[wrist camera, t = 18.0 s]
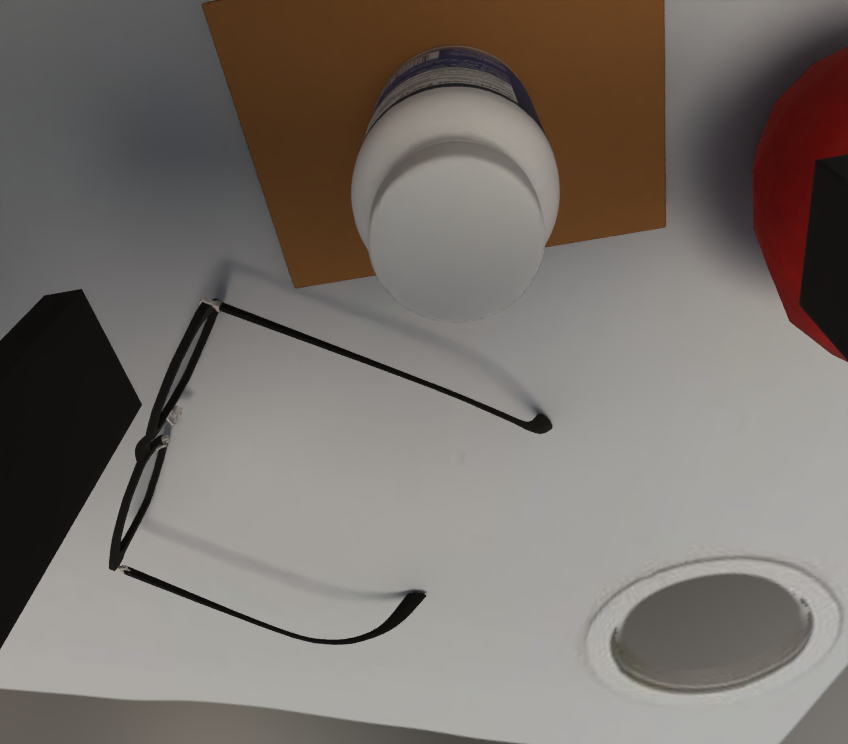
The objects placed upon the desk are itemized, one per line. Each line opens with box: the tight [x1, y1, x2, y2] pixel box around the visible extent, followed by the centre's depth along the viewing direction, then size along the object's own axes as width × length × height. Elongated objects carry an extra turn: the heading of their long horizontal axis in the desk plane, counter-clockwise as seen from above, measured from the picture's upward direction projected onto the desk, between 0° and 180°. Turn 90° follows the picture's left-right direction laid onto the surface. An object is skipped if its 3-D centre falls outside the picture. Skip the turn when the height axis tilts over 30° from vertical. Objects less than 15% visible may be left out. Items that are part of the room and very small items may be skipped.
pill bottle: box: [351, 46, 560, 322], centre depth 20 cm, size 5×5×10 cm
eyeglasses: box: [109, 298, 553, 645], centre depth 31 cm, size 16×16×4 cm
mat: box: [202, 0, 666, 288], centre depth 24 cm, size 14×10×1 cm
